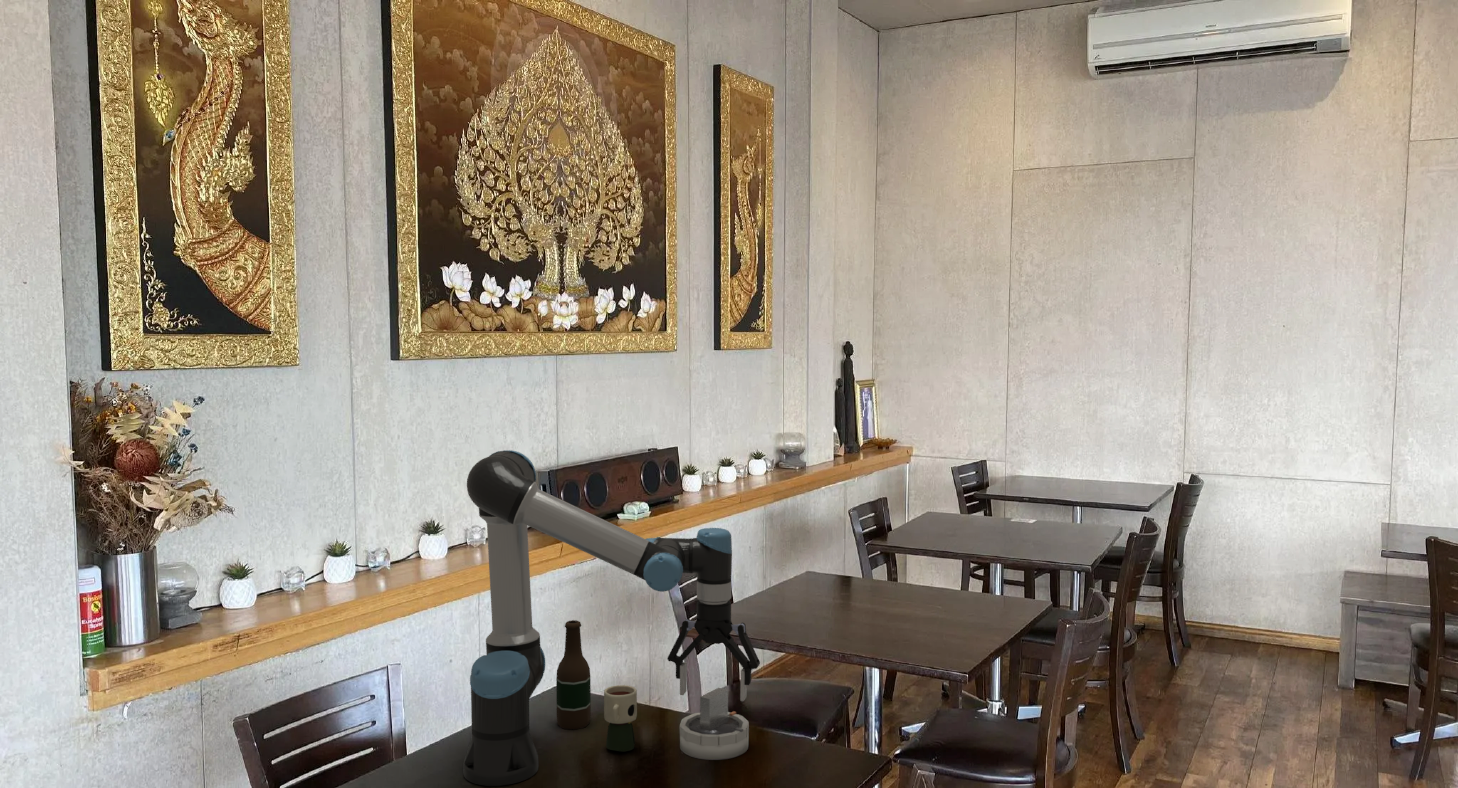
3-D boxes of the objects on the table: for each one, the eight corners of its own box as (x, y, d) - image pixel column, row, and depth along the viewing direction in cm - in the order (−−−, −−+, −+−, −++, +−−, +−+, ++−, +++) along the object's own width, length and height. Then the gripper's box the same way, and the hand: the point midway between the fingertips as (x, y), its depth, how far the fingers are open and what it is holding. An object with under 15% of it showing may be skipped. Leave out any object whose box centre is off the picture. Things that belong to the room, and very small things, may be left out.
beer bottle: (556, 718, 242) (555, 617, 241) (589, 716, 244) (589, 616, 242) (557, 731, 235) (556, 627, 233) (591, 728, 236) (590, 625, 235)
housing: (665, 748, 225) (665, 724, 224) (708, 727, 237) (708, 704, 236) (721, 765, 216) (721, 740, 215) (762, 742, 228) (762, 718, 227)
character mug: (631, 759, 219) (631, 699, 218) (598, 758, 220) (598, 698, 219) (641, 739, 230) (641, 682, 229) (610, 738, 230) (610, 681, 230)
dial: (720, 745, 218) (720, 705, 218) (679, 733, 225) (678, 695, 224) (749, 728, 227) (749, 690, 227) (708, 718, 234) (708, 681, 233)
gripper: (773, 599, 225) (772, 695, 226) (664, 592, 231) (663, 685, 232) (766, 608, 218) (765, 707, 219) (653, 600, 224) (653, 696, 225)
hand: (713, 696), depth 226 cm, fingers open, 13 cm apart
